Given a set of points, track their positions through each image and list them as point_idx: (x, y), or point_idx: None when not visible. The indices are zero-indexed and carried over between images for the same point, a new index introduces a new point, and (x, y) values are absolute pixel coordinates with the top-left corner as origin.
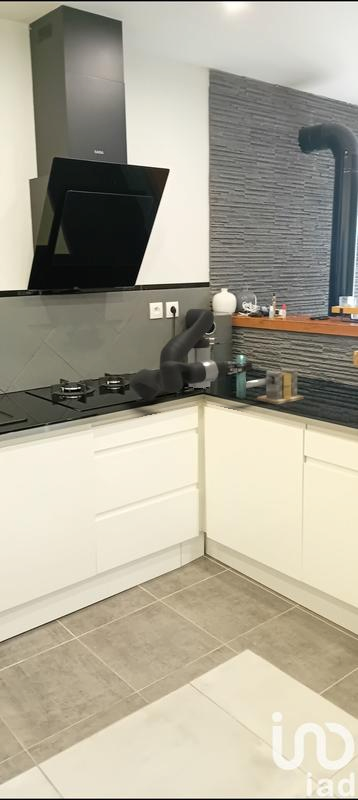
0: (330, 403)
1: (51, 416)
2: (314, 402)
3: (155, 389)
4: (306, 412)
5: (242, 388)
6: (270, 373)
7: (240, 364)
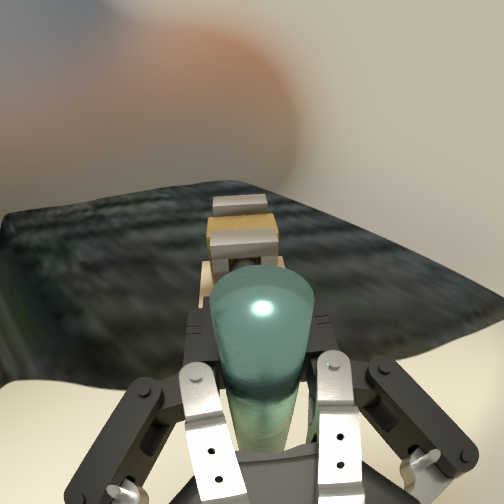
0: (348, 248)
1: None
2: (323, 263)
3: None
4: (418, 324)
5: (286, 438)
6: (235, 248)
7: (352, 397)
